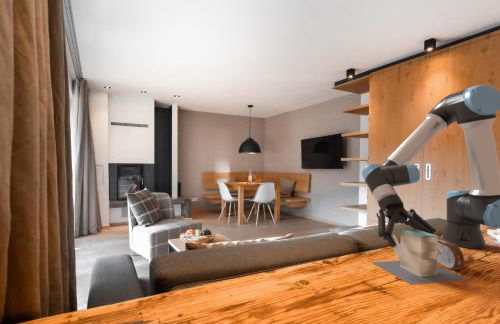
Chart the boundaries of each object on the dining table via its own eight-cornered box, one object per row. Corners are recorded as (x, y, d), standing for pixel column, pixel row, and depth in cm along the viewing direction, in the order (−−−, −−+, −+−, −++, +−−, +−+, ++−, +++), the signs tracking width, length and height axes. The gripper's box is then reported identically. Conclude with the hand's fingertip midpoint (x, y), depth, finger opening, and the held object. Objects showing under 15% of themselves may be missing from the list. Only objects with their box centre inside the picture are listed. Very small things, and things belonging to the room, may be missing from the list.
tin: (465, 274, 85) (465, 247, 85) (454, 274, 85) (455, 246, 85) (433, 257, 100) (433, 234, 100) (424, 257, 100) (425, 234, 100)
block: (415, 265, 90) (416, 229, 90) (437, 275, 82) (437, 235, 82) (400, 266, 89) (400, 229, 89) (420, 276, 81) (421, 236, 81)
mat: (421, 260, 96) (421, 259, 96) (469, 280, 80) (469, 279, 80) (371, 263, 92) (371, 262, 92) (410, 286, 75) (410, 284, 75)
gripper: (411, 205, 104) (446, 259, 89) (352, 206, 99) (379, 262, 84) (423, 193, 99) (462, 247, 84) (361, 193, 93) (391, 251, 79)
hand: (421, 255), depth 84 cm, fingers open, 13 cm apart
